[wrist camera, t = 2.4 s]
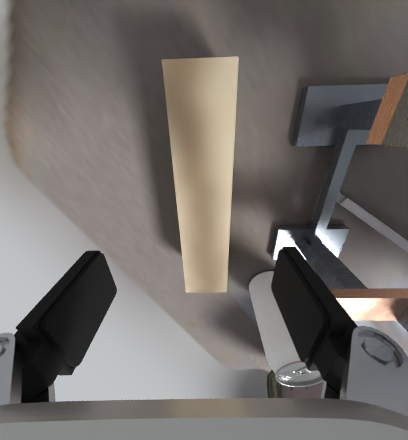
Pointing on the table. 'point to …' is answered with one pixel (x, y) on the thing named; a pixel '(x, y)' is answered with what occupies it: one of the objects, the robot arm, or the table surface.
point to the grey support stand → (344, 147)
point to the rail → (202, 162)
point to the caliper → (372, 222)
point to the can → (278, 336)
